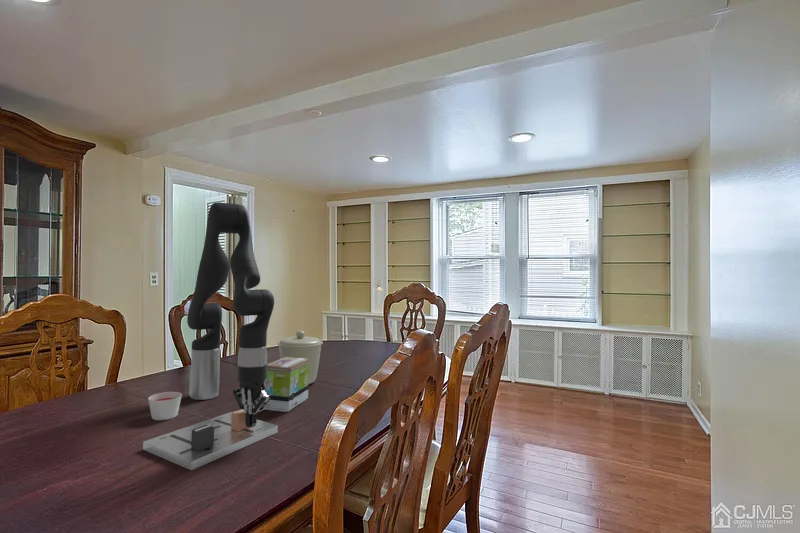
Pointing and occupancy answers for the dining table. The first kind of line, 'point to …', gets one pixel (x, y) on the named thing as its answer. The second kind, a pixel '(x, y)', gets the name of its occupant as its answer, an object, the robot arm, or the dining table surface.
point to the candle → (164, 405)
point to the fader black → (202, 437)
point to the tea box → (287, 383)
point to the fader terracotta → (238, 420)
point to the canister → (302, 351)
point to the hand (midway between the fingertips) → (250, 426)
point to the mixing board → (225, 442)
